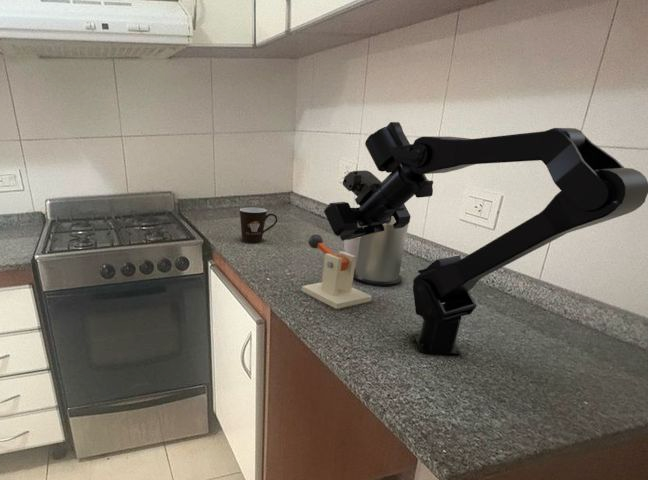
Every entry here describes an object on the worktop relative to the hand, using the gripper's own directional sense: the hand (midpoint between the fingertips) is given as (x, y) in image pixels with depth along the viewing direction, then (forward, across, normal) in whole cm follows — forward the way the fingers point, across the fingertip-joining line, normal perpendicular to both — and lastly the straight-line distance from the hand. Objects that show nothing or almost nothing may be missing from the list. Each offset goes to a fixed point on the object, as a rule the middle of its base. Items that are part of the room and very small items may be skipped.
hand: (344, 238), depth 93 cm
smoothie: (+21, -19, -2) cm, 29 cm away
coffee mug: (+45, -10, -26) cm, 53 cm away
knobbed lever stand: (+10, 0, +9) cm, 14 cm away
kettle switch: (+8, 0, 0) cm, 8 cm away
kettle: (+13, -17, +6) cm, 22 cm away
